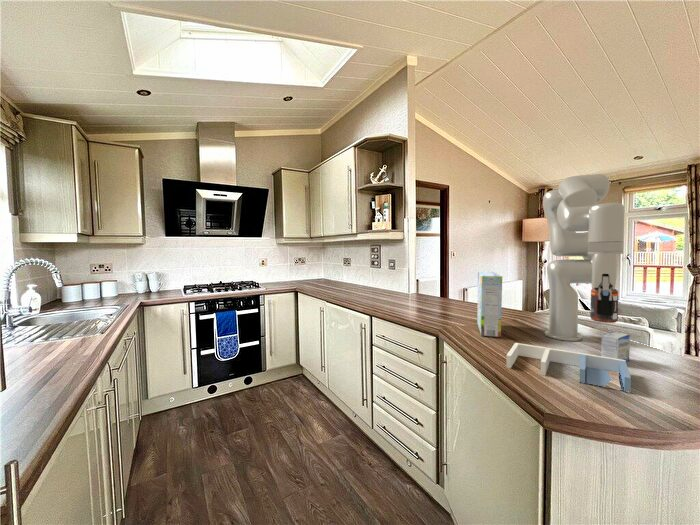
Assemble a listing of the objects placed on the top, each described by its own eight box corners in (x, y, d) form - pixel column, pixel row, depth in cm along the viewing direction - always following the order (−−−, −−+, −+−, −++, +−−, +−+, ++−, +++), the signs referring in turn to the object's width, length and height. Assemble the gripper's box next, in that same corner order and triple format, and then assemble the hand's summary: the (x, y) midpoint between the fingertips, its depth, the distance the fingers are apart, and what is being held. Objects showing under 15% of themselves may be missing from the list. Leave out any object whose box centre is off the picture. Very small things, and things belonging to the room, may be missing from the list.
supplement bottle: (623, 323, 82) (624, 282, 81) (598, 323, 83) (598, 282, 82) (609, 318, 87) (610, 279, 87) (585, 318, 89) (586, 279, 88)
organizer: (515, 353, 106) (515, 342, 106) (625, 373, 89) (625, 360, 88) (506, 367, 95) (506, 355, 95) (630, 393, 77) (630, 378, 77)
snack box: (503, 338, 124) (503, 276, 122) (480, 336, 127) (480, 275, 125) (496, 324, 144) (496, 271, 143) (476, 323, 147) (476, 271, 146)
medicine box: (618, 365, 94) (618, 338, 93) (600, 361, 98) (601, 335, 97) (629, 360, 98) (630, 334, 97) (612, 356, 102) (613, 331, 101)
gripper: (588, 247, 93) (587, 305, 94) (588, 249, 79) (587, 317, 80) (620, 247, 88) (619, 308, 89) (626, 249, 75) (624, 320, 76)
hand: (604, 311), depth 85 cm, fingers closed on supplement bottle, 6 cm apart
